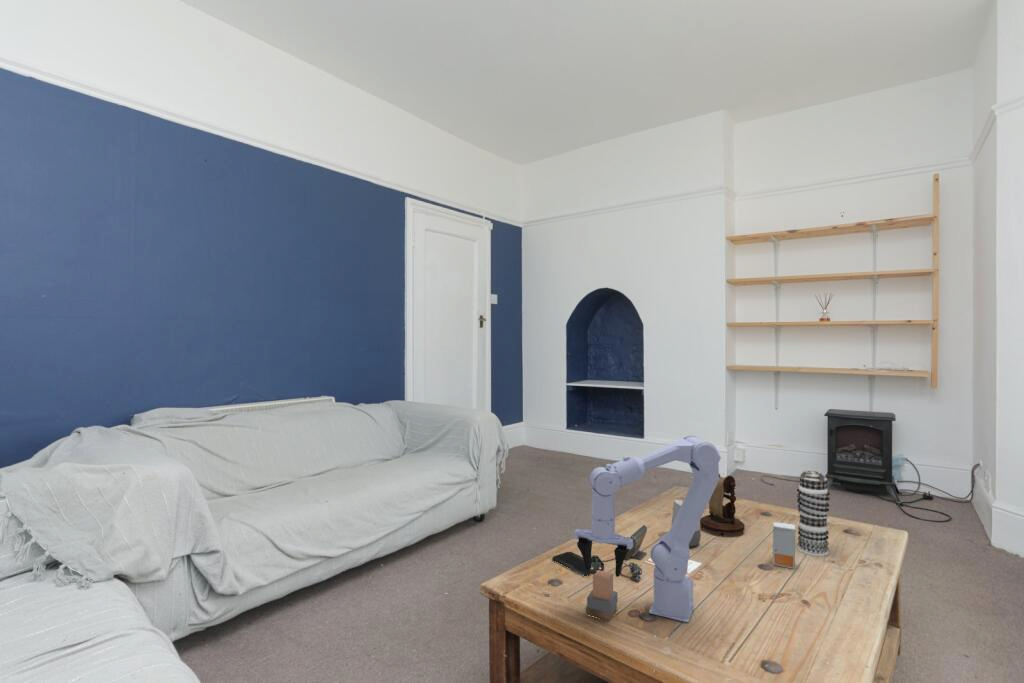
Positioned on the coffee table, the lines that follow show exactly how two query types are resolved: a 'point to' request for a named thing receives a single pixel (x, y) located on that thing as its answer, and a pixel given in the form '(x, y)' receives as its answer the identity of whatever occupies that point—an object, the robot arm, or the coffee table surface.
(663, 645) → the coffee table surface
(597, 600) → the charcoal slab
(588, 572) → the phone
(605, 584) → the terracotta block
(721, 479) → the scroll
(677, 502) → the smart speaker
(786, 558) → the skincare box
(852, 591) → the coffee table surface
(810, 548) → the decorative candle
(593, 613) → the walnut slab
